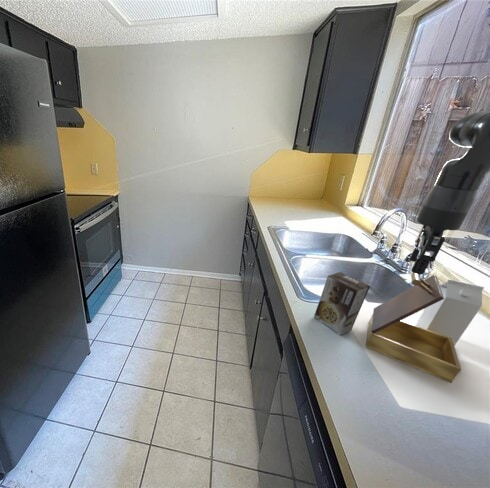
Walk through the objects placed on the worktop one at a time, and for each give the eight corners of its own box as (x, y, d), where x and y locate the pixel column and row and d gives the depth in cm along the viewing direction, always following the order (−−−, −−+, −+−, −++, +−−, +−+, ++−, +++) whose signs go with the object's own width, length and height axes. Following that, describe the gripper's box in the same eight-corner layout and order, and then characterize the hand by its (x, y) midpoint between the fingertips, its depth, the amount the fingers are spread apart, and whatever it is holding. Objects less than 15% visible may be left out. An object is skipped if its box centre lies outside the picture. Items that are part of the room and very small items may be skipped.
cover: (437, 276, 70) (418, 262, 71) (444, 298, 60) (422, 282, 62) (375, 310, 81) (361, 298, 83) (373, 333, 71) (357, 319, 73)
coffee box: (352, 329, 80) (372, 286, 73) (339, 335, 77) (358, 291, 71) (325, 312, 87) (340, 271, 81) (312, 316, 85) (327, 274, 78)
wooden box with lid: (443, 350, 74) (451, 338, 72) (451, 383, 64) (461, 369, 62) (368, 322, 83) (374, 310, 81) (365, 346, 74) (371, 333, 72)
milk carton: (415, 324, 84) (444, 273, 76) (445, 332, 80) (478, 281, 73) (421, 337, 78) (453, 285, 70) (453, 347, 75) (490, 293, 67)
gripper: (476, 216, 53) (438, 283, 60) (462, 204, 63) (431, 262, 70) (427, 209, 57) (397, 272, 64) (422, 198, 67) (396, 253, 74)
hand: (415, 266), depth 67 cm, fingers open, 8 cm apart
